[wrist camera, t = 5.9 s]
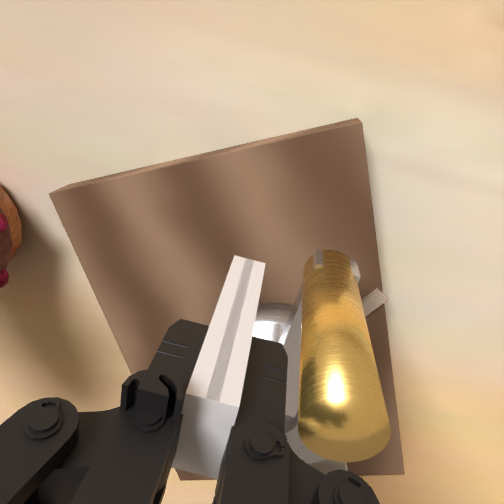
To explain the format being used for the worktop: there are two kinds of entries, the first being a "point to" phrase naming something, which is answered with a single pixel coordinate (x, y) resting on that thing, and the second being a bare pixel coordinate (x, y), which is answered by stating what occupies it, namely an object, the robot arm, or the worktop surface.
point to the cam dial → (328, 364)
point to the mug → (8, 234)
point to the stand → (231, 242)
